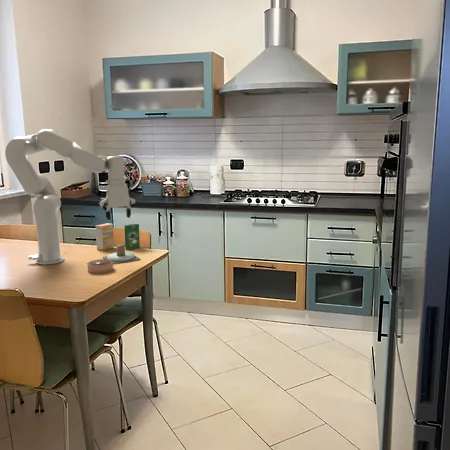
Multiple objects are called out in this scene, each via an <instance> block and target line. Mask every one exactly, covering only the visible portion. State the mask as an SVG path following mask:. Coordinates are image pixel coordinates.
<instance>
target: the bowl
mask: <svg viewBox="0 0 450 450" xmlns="http://www.w3.org/2000/svg"><path fill="white" fill-rule="evenodd" d="M86 265H87V272H88V273H89V274H94V275H95V274H107V273H110V272H112V271H113V270H114V264H113V261H112V260H109V259H104V258H101V259H100V258H99V259H94V260H89V261H88V262H86Z"/></svg>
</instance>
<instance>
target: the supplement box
mask: <svg viewBox="0 0 450 450" xmlns="http://www.w3.org/2000/svg"><path fill="white" fill-rule="evenodd" d="M95 236H96V238H95V239H96V250H97V251H107V250H109V249H114V248H115V237H114V223H109V222H108V223H107V222H106V223H102V224H98V225H97V224H96V225H95Z"/></svg>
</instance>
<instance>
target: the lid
mask: <svg viewBox="0 0 450 450" xmlns="http://www.w3.org/2000/svg"><path fill="white" fill-rule="evenodd" d="M106 256H107V259H109V260H112V261H127V260H131V259H134V258H135V256H136V255H135V253H134V252H129V251H128V252H127V251H126V250H125V244H123V243H122V244H117V245H116V252H114V253H110V254H108V255H106Z"/></svg>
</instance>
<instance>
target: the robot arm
mask: <svg viewBox="0 0 450 450" xmlns="http://www.w3.org/2000/svg"><path fill="white" fill-rule="evenodd" d="M46 150H48V151H49V152H52V153H55V154H56V155H58V156H61V157H62V158H65V159H67V160H68V161H70V162H71V163H73V164H76V165H77V166H78V167H81V168H83V169H85V170H88V171H89V172H91V173H96V174H98V173H99V174H100V173H102V172H106V171H107V176H108V177H107V178H108V179H107V180H105V182H104V183H105V184H107V188H106V194H105V195H106V197H105V198H104V199H103V200H100V201H99V205H100V207H101V209H103V210H104V211H105V218H106V220H111V211H110V209H111V208H119V207H120V208H121V207H125V208H126V218H129V219H131V216H132V213H131V212H132V208H133V207H134V205H135V203H136V199H134V198H133V197H130V193H129V187H128V185H127V184H126V177H125V158H124V156H123V155H110V156H109V155H100V154H99V155H96V154H93V153H92V152H89V151H87V150H85V149H84V148H82V147H81V146H80V145H78V143H77V142H75V141H73V140H72V139H69V138H67V137H65V136H63V135H61V134H59V132H58V131H56V130H55V129H50V128H49V129H48V128H45V129H41V130H39V131H38V132H37V133H33V134H31V135H26V136H25V135H24V136H15V137H13V138H12V139H10V140H9V141H8V143H7V145H6V147H5V150H4V151H5V152H4V154H5V155H4V156H5V160H6V162H7V164H8V166H9V167H10V169H11V170H12V172H13V174H14V176H15V178H16V179H17V181H18V182H19V184H20V185H21V187H22V188H23V190H24V192H25V193H26V195H28V196H35V197H36V199H35V201H34V203H33V206H32V207H33V208H32V209H33V214H34V219H35V227H36V234H37V237H36V238H37V244H38V245H37V247H38V251H37V253H36V254H34V255H28V260H29V261H30V260H32V261H36V264H37V265H46V266H47V265H54V264H60V263H62V262H64V261H65V257H64V256H61V255H62V254H61V247H60V235H59V234H60V233H59V224H58V216H57V212H58V211H59V209H60V208H61V207H62V201H61V198H60V196H59V194H58V193H57V191H56V190H55V188H54V185H52V183H51V182H50V179H48V178H47V176H45V175H44V174H41V173H37V172H36V169H35V168H34V167H33V165H32V163H31V162H30V161H29V160H28V158H27V156H28V155H33V154H37V153H40V152H43V151H46ZM130 202H131V203H130ZM105 204H106V206H105Z"/></svg>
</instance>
